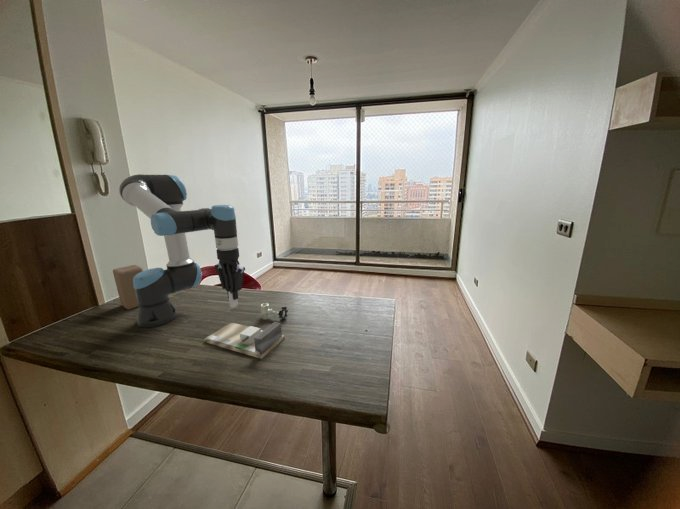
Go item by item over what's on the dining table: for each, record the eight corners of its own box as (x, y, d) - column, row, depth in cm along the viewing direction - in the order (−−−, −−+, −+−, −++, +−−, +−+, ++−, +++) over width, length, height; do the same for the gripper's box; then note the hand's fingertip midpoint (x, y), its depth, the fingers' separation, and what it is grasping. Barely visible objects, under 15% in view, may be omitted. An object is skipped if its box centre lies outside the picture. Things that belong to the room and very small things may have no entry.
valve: (258, 320, 119) (281, 324, 116) (256, 307, 118) (280, 310, 114) (265, 313, 126) (288, 317, 122) (264, 301, 124) (287, 304, 120)
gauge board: (204, 341, 103) (202, 325, 101) (231, 324, 116) (229, 310, 114) (261, 359, 93) (259, 341, 91) (284, 338, 105) (283, 322, 103)
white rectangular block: (235, 345, 99) (234, 337, 98) (251, 333, 106) (250, 325, 105) (245, 348, 97) (244, 340, 96) (261, 336, 104) (260, 328, 103)
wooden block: (143, 298, 144) (135, 264, 139) (150, 303, 138) (142, 267, 133) (120, 305, 136) (111, 269, 131) (127, 310, 130) (118, 272, 125)
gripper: (205, 248, 95) (213, 307, 101) (233, 252, 90) (240, 313, 96) (222, 244, 101) (228, 299, 108) (248, 247, 97) (253, 305, 103)
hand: (234, 306), depth 102 cm, fingers closed
